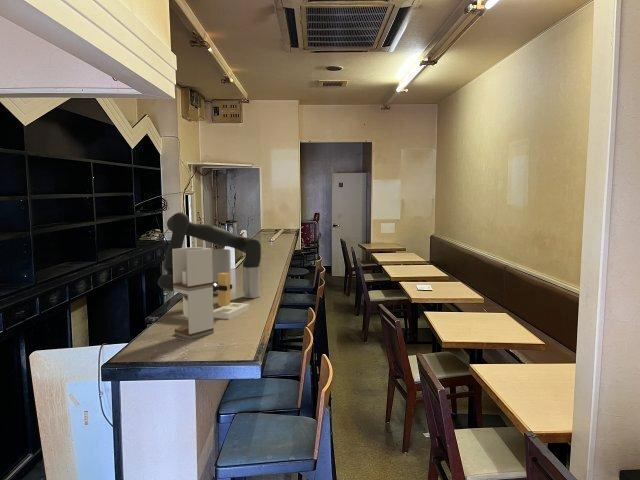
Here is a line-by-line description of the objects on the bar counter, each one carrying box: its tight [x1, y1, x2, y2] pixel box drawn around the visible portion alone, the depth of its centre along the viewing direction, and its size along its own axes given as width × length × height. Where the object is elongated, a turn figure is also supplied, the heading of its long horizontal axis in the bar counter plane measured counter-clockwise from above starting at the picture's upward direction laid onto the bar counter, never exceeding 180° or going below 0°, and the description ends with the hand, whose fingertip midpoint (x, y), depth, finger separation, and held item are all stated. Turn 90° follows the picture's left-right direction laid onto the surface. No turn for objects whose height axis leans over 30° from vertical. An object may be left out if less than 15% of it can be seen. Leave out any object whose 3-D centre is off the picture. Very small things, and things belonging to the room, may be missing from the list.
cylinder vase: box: [212, 248, 232, 295], centre depth 268 cm, size 12×12×25 cm
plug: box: [217, 273, 231, 307], centre depth 213 cm, size 4×4×15 cm
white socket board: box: [213, 302, 250, 320], centre depth 218 cm, size 20×10×3 cm, turn 162°
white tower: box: [172, 246, 215, 340], centre depth 185 cm, size 11×11×35 cm
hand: (229, 287), depth 212 cm, fingers closed on plug, 4 cm apart
